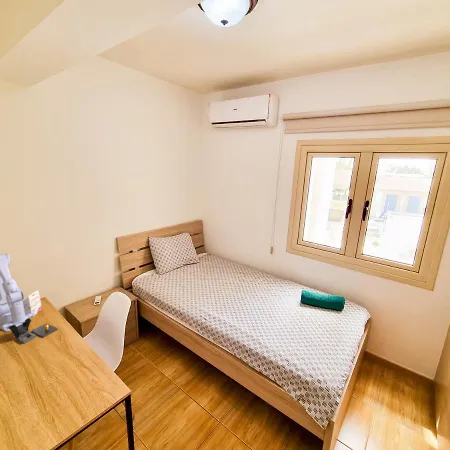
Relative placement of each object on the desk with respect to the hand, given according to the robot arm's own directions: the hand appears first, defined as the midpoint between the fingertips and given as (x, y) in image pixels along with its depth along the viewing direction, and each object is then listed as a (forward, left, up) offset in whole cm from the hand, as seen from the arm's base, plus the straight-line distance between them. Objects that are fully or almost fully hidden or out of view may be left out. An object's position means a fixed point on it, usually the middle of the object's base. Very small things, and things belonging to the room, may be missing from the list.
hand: (21, 334), depth 138 cm
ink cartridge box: (-20, +17, -2) cm, 26 cm away
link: (+3, 0, -1) cm, 3 cm away
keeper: (+6, +9, -1) cm, 11 cm away
